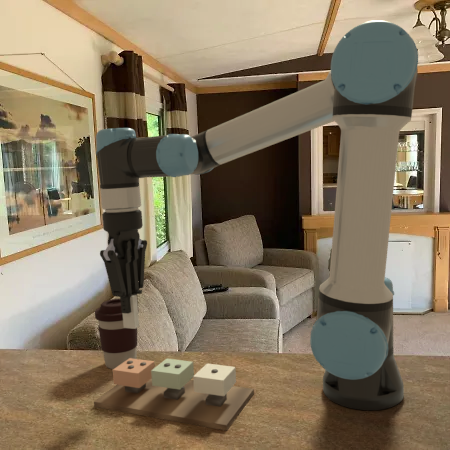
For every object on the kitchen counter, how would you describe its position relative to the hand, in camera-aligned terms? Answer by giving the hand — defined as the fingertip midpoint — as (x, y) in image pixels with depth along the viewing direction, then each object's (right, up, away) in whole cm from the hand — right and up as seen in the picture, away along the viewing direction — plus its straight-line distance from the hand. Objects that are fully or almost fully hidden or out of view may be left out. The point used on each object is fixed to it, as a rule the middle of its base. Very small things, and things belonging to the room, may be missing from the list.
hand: (131, 327), depth 97 cm
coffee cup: (-6, -13, +18) cm, 22 cm away
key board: (+9, -14, -2) cm, 17 cm away
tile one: (+17, -10, -6) cm, 21 cm away
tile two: (+9, -10, -2) cm, 13 cm away
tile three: (0, -11, +1) cm, 11 cm away
